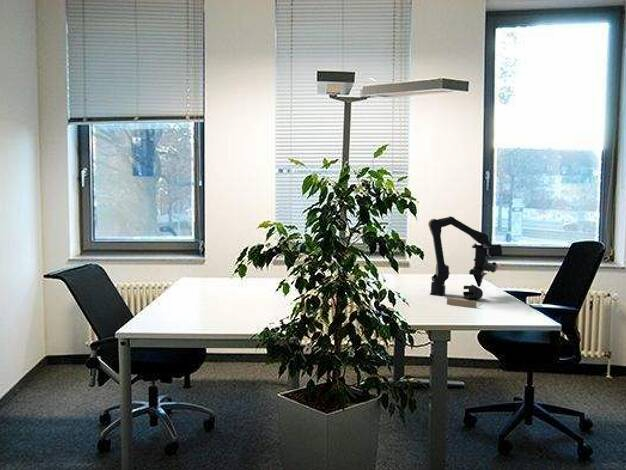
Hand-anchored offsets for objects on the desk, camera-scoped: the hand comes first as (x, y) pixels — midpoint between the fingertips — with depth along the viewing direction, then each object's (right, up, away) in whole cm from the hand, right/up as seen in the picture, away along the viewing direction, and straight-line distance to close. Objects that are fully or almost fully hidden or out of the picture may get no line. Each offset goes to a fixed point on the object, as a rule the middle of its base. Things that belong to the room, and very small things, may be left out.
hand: (479, 286), depth 337 cm
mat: (-12, -7, -20) cm, 24 cm away
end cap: (-6, -6, -10) cm, 13 cm away
